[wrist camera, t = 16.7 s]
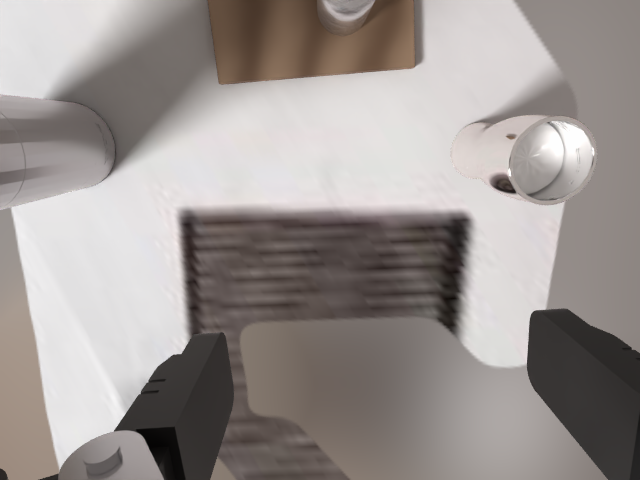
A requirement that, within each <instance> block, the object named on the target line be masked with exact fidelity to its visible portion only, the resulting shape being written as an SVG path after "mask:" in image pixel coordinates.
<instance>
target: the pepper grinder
mask: <svg viewBox="0 0 640 480" xmlns="http://www.w3.org/2000/svg"><path fill="white" fill-rule="evenodd" d="M374 2H375V0H317V12H318V17H319V20H320V22H321V24H322V25H323V27H324V28H325V29H326V30H327V31H329V32H330V33H332V34H334V35H337V36H348V35H351V34H353V33H355V32H356V31H358V30H359V29H360V28H361V27H362V25H363V24H364V22H365V20H366V18H367V16H368V14H369V12H370V10H371V8H372V6H373V4H374Z"/></svg>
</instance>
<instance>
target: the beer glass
mask: <svg viewBox="0 0 640 480" xmlns="http://www.w3.org/2000/svg"><path fill="white" fill-rule="evenodd" d="M450 156H451V161H452V164H453V166H454V168H455V169H456V170H457V172H459V173H460V174H461V175H463V176H464V177H467V178H470V179H481V180H482V181H483V182H484V183H485V184H486V185H487V186H489V187H490V188H491V189H493V190H494V191H496V192H498V193H500V194H502V195H504V196H507V197H510V198H513V199H516V200H521V201H525V202H531V203H534V204H539V205H554V204H558V203H562V202H564V201H567V200H569V199H570V198H572V197H574V196H575V195H576V194H578V193H579V192H580V191H581V190H582V189H583V188H584V187H585V186H586V184H587V183H588V181H589V180H590V178H591V177H592V175H593V172H594V170H595V167H596V162H597V145H596V142H595V139H594V137H593V135H592V133H591V132H590V130H589V129H588V128H587V127H586V126H585V125H584V124H583V123H581V122H580V121H578V120H576V119H574V118H571V117H566V116H552V115H522V116H516V117H512V118H509V119H506V120H503V121H500V122H498V123H496V124H494V125H492V124H490V123H486V122H477V123H473V124H470V125H468V126H466V127H465V128H463V129H462V130H461V131H460V132H459V133H458V134H457V135H456V137H455V138H454V140H453V142H452V145H451V151H450Z"/></svg>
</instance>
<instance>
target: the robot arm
mask: <svg viewBox="0 0 640 480" xmlns="http://www.w3.org/2000/svg"><path fill="white" fill-rule="evenodd" d="M114 161H115V143H114V140H113V136H112V133H111V132H110V130H109V128H108V126H107V124H106V123H105V122H104V121H103V119H102V118H101V117H100V116H99V115H98V114H96V113H95V112H94V111H93V110H91V109H89V108H87V107H86V106H83V105H81V104H78V103H73V102H65V101H56V100H48V99H39V98H29V97H20V96H10V95H0V210H2V209H6V208H10V207H13V206H17V205H21V204H25V203H29V202H33V201H37V200H41V199H45V198H49V197H52V196H56V195H60V194H64V193H69V192H72V191H76V190H80V189H84V188H88V187H91V186H94V185H96V184H98V183H100V182H101V181H102V180H103V179H104V178H106V177H107V176H108V174H109V172H110V171H111V169H112V167H113V164H114ZM527 371H528V376H529V379H530V382H531V384H532V386H533V388H534V390H535V391H536V392H537V393H538V394H539V396H540V397H541V398H542V399H543V401H544V402H545V403H546V404H547V406H548V407H549V408H550V409H551V410H552V412H553V413H554V414H555V415H556V417H557V418H558V419H559V420H560V421H561V423H562V424H563V425H564V426H565V428H566V429H567V430H568V431H569V432H570V434H571V435H572V436H573V437H574V438H575V440H576V441H577V442H578V443H579V445H580V446H581V447H582V448H583V449H584V451H585V452H586V453H587V454H588V456H589V457H590V458H591V459H592V460H593V462H594V463H595V464H596V465H597V467H598V468H599V469H600V470H601V471H602V472H603V474H604V475H605V476H606V478H607V479H608V480H640V353H639V352H637V351H636V350H632V348H631V347H630V346H628V345H627V344H625V343H624V342H623V341H621V340H620V339H618V338H617V337H616V336H614V335H612V334H610V333H607V332H605V331H603V330H600V329H597V328H595V327H593V326H590V325H589V324H587V323H586V322H585V321H583V320H582V319H581V318H579V317H578V316H576V315H575V314H574V313H572V312H571V311H570V310H568V309H551V310H536V311H534V312H533V313H532V314H531V317H530V325H529V341H528V357H527ZM233 399H234V388H233V380H232V373H231V367H230V361H229V354H228V348H227V341H226V337H225V335H224V333H222V332H220V333H206V334H194V335H193V336H192V338H191V339H190V341H189V343H188V344H187V346H186V348H185V349H184V351H183V352H182V354H177V355H172V356H171V357H170V358H169V359H167V360H166V361H165V362H163V363H162V364H161V365H159V366H158V367H157V369H156V370H155V371H154V373H153V374H152V376H151V377H150V379H149V382H148V383H146V385H145V386H144V388H143V389H142V391H141V394H139V395H138V397H137V398H136V399H135V401H134V402H133V404H132V405H131V407H130V408H129V410H128V411H127V413H126V414H125V416H124V417H123V419H122V420H121V422H120V423H119V424H118V426H117V427H116V429H115V430H114V432H111V433H107V434H104V435H101V436H99V437H97V438H95V439H93V440H91V441H89V442H87V443H85V444H84V445H82V446H81V447H80V448H78V449H77V450H76V451H75V452H73V453H72V454H71V455H70V456H69V457H68V458H67V460H66V461H65V462H64V464H63V465H62V467H61V469H60V472H59V474H56V475H53V476H50V477H46V478H43V479H40V480H210V478H211V475H212V472H213V468H214V465H215V462H216V459H217V456H218V453H219V449H220V446H221V443H222V440H223V437H224V433H225V430H226V427H227V424H228V421H229V417H230V414H231V411H232V407H233ZM0 480H8V477H7V474H6V472H5V471H4V470H2V469H0Z"/></svg>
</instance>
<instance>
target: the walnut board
mask: <svg viewBox="0 0 640 480" xmlns="http://www.w3.org/2000/svg"><path fill="white" fill-rule="evenodd" d="M208 6H209V14H210V21H211V28H212V36H213V43H214V51H215V58H216V65H217V73H218V80H219V84H234V83H245V82H257V81H269V80H281V79H293V78H304V77H316V76H328V75H340V74H352V73H364V72H375V71H387V70H399V69H411V68H414V67H415V48H414V0H375V2H374V4H373V6H372V8H371V10H370V12H369V14H368V16H367V18H366V20H365V22H364V24H363V25H362V27H361V28H360V29H359V30H358V31H356V32H355V33H353V34H351V35H348V36H337V35H334V34H332V33H330V32H329V31H327V30H326V29H325V28H324V27H323V25H322V24H321V22H320V20H319V17H318V12H317V0H208Z"/></svg>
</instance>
